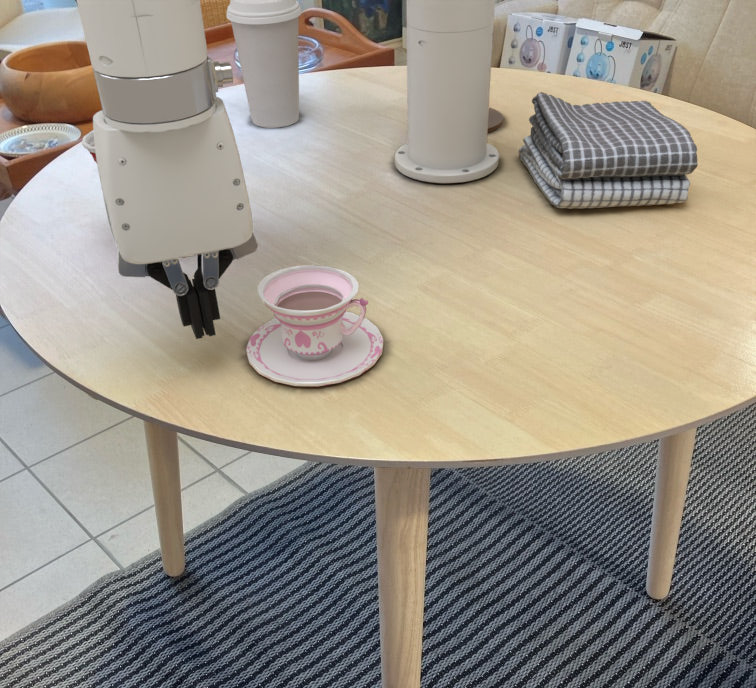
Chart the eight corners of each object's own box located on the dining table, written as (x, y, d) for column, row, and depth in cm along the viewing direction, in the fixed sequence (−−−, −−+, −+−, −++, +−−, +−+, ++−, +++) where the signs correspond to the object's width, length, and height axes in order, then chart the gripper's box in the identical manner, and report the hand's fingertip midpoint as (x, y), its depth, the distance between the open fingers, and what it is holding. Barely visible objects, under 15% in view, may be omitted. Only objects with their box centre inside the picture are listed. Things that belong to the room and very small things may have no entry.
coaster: (416, 115, 117) (416, 111, 116) (483, 104, 119) (483, 100, 119) (445, 140, 110) (446, 135, 109) (516, 128, 112) (516, 123, 112)
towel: (556, 220, 92) (564, 146, 87) (516, 155, 105) (521, 88, 100) (692, 209, 93) (709, 135, 88) (636, 146, 106) (647, 79, 101)
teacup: (227, 381, 72) (215, 316, 68) (271, 308, 80) (263, 247, 76) (365, 396, 70) (362, 331, 65) (396, 320, 78) (395, 257, 74)
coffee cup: (307, 131, 114) (297, 3, 103) (236, 133, 114) (218, 6, 104) (312, 106, 121) (303, -16, 110) (245, 108, 121) (229, -13, 111)
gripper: (251, 60, 62) (278, 290, 74) (37, 90, 58) (104, 325, 71) (278, 91, 56) (303, 333, 69) (45, 125, 53) (116, 373, 65)
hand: (202, 328), depth 70 cm, fingers closed
